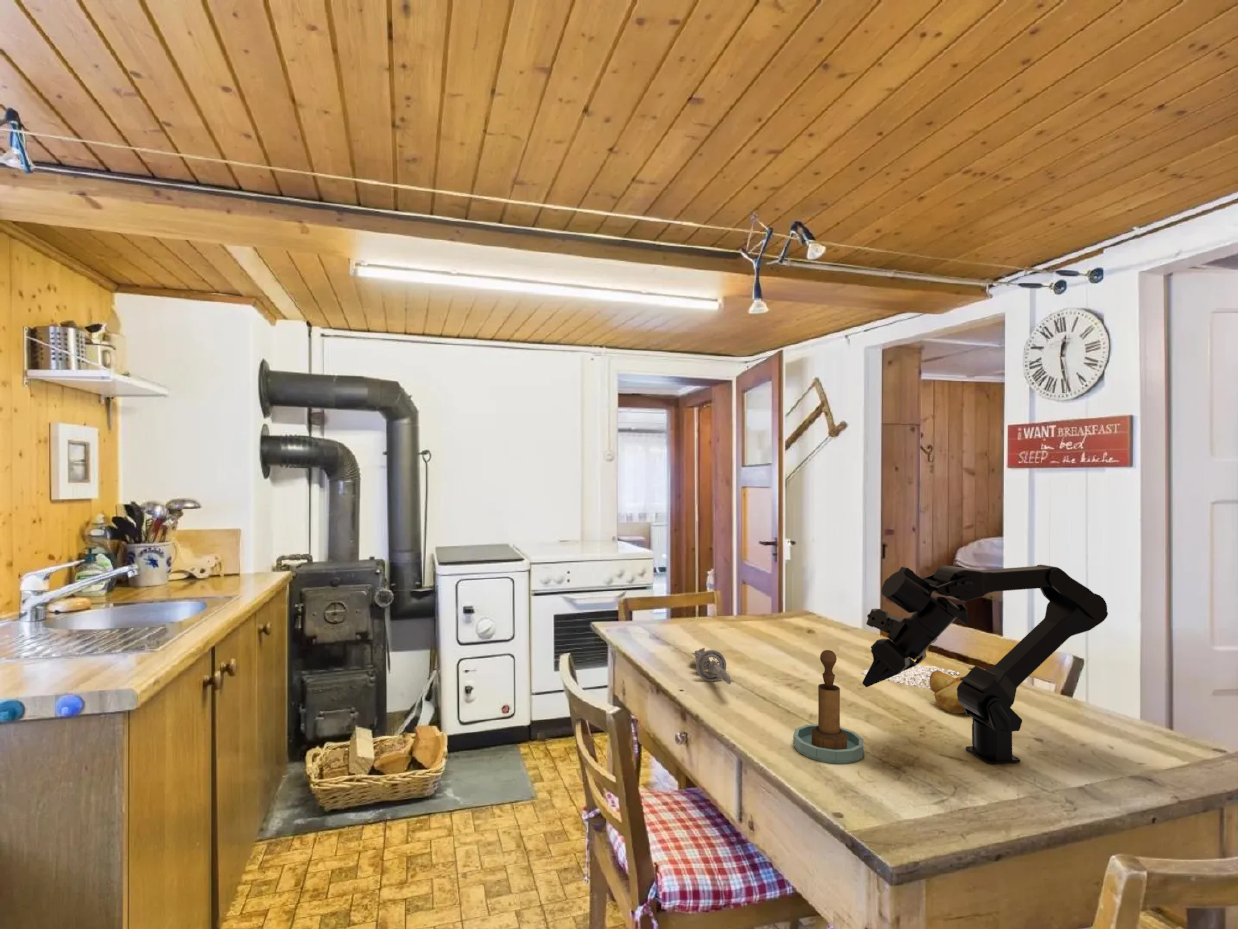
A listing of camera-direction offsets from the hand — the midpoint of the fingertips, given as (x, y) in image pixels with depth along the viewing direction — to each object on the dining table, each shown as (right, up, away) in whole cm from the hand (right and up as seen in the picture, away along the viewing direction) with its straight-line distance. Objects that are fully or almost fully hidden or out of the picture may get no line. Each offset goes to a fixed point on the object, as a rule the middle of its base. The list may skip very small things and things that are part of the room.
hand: (871, 682), depth 121 cm
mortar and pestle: (-9, -12, -2) cm, 15 cm away
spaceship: (-25, -14, +38) cm, 48 cm away
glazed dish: (-9, -12, -2) cm, 15 cm away
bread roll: (+29, -13, +19) cm, 37 cm away
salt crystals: (+29, -15, +44) cm, 55 cm away
